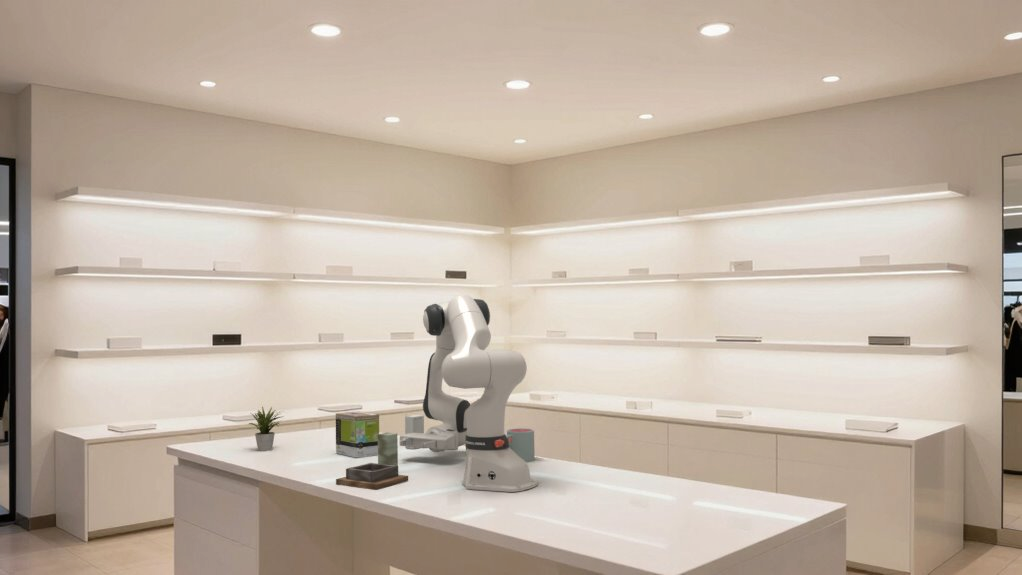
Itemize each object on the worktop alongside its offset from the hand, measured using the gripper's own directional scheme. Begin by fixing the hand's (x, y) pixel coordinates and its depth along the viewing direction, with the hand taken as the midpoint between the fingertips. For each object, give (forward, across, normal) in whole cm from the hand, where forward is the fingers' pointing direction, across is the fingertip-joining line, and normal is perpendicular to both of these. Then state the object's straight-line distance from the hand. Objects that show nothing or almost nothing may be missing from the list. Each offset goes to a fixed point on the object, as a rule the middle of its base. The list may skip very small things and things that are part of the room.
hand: (412, 444), depth 276 cm
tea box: (-8, -32, +7) cm, 34 cm away
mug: (-23, +26, +7) cm, 35 cm away
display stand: (+27, +7, +7) cm, 29 cm away
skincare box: (-28, -22, +7) cm, 36 cm away
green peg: (+12, 0, +7) cm, 14 cm away
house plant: (+2, -69, +7) cm, 69 cm away
